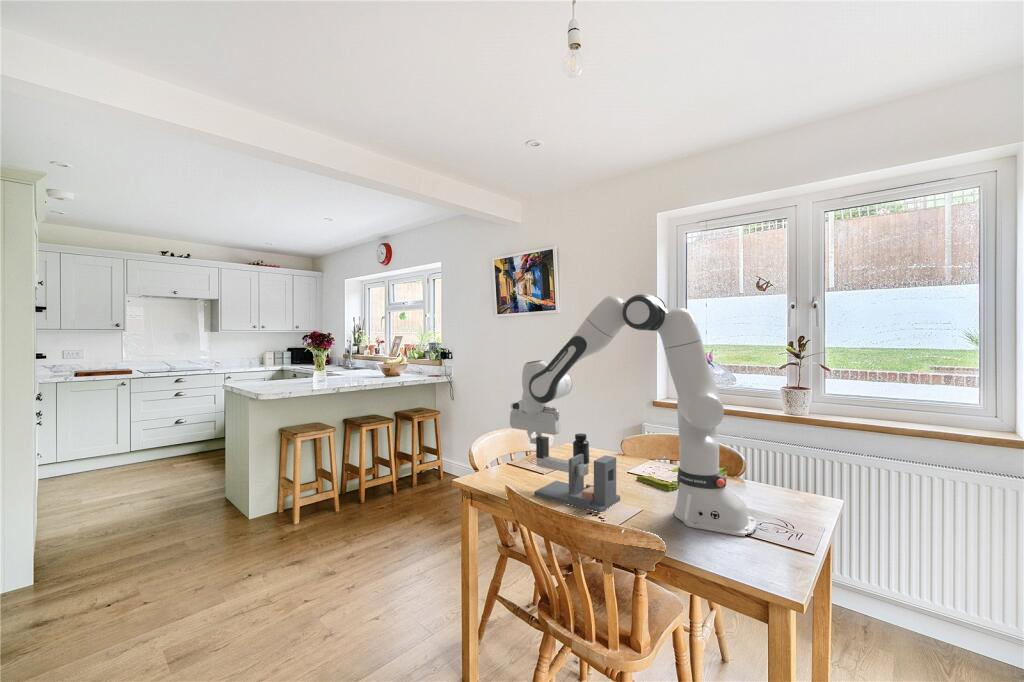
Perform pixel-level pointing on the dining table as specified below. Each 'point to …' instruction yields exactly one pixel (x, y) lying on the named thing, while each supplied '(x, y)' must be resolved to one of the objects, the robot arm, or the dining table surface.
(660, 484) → the dish towel
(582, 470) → the shaft
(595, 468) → the bracket
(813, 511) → the dining table surface
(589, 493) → the block
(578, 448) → the supplement bottle
